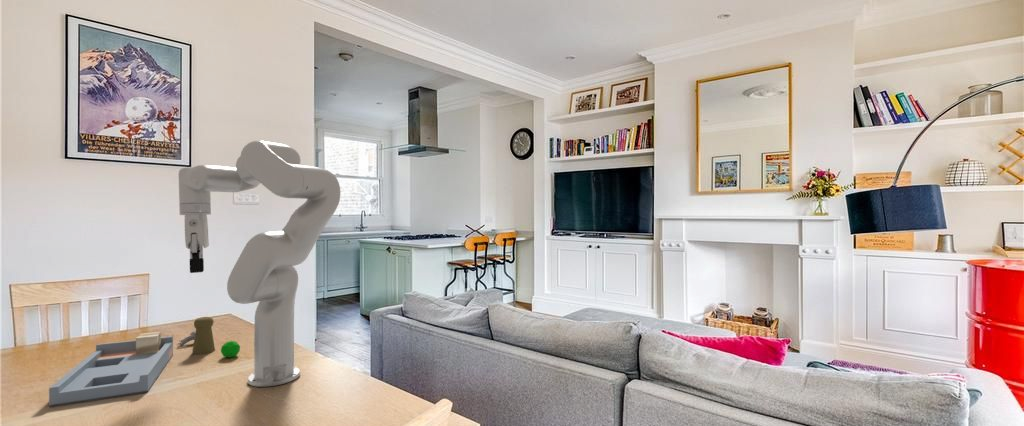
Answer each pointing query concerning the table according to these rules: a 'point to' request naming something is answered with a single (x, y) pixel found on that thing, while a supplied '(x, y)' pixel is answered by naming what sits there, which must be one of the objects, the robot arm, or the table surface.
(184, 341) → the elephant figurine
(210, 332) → the cork
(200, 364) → the table surface
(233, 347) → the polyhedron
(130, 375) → the box
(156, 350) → the maple block
